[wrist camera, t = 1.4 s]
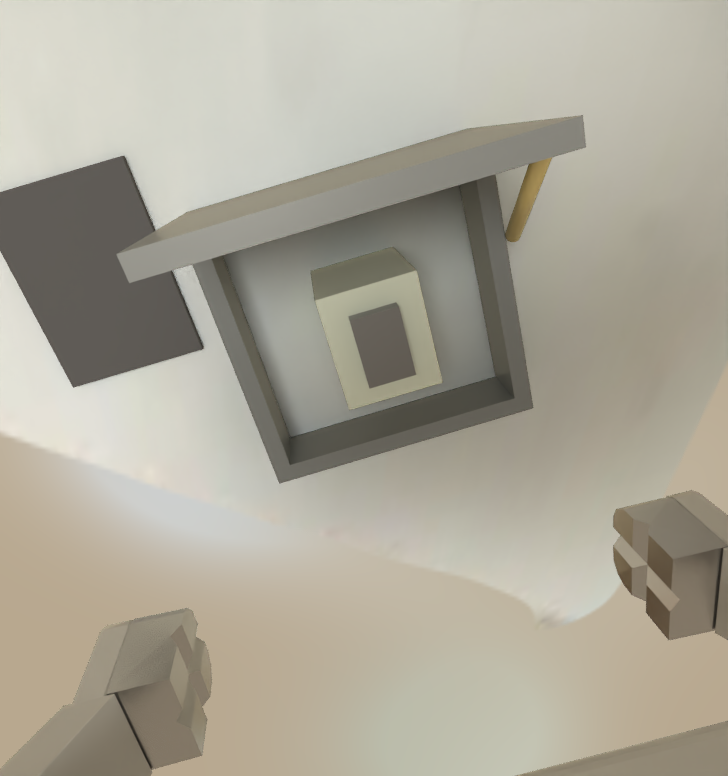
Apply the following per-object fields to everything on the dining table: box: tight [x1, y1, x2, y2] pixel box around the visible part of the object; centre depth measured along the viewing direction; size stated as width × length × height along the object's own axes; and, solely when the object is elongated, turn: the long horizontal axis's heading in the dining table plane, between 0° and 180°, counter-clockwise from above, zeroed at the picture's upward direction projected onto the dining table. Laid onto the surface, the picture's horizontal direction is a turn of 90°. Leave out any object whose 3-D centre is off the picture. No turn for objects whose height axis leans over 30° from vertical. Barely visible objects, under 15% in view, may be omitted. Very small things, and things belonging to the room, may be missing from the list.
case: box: [116, 115, 586, 483], centre depth 28 cm, size 17×16×14 cm
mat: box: [0, 156, 203, 387], centre depth 32 cm, size 8×11×1 cm
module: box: [311, 247, 443, 410], centre depth 31 cm, size 5×6×8 cm
